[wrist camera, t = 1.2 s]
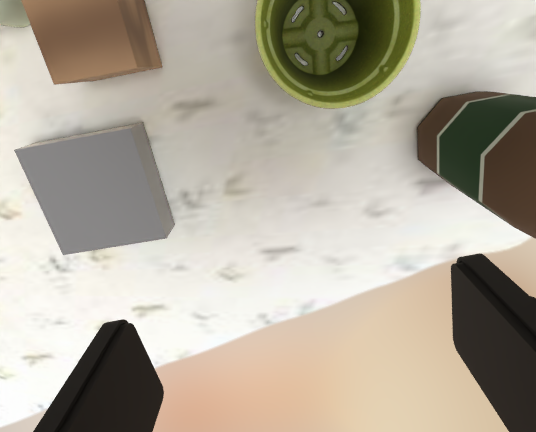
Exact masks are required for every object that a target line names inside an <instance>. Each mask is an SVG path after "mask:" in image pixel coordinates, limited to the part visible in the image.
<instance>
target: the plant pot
mask: <svg viewBox="0 0 536 432" xmlns="http://www.w3.org/2000/svg"><path fill="white" fill-rule="evenodd" d="M332 2H338V3H340V4H341V5H342V6H343V7H344V8H345V9H346V14H345V15H343V14H342V12H341V11H340V10H339V9H338V8H337V7H336V6H335V5H334V4H333V3H332ZM300 6H304V9H303V10H302V11H301V13H300V14H299V15H298V17H297V18H296V20H295V22H293V23H292V21H291V19H292V17H293V16H294V14H295V12H296V10H297V9H298V8H299V7H300ZM420 7H421V5H420V0H257V5H256V14H255V32H256V40H257V46H258V49H259V53H260V56H261V59H262V61H263V63H264V65H265V67H266V69H267V71H268V72H269V74H270V75H271V77H272V78H273V80H274V81H275V82H276V83H277V84H278V85H279V86H280V87H281V88H282V89H283V90H284V91H285V92H286V93H288V94H289V95H291V96H292V97H294V98H295V99H297V100H299V101H301V102H303V103H306V104H308V105H311V106H315V107H320V108H329V109H335V108H346V107H350V106H354V105H357V104H360V103H363V102H365V101H367V100H369V99H370V98H372V97H374V96H375V95H377V94H378V93H380V92H381V91H382V90H383V89H385V88H386V87H387V86H388V85H389V84H390V83H391V82H392V81H393V80H394V79H395V77H396V76H397V75H398V74H399V72H400V71H401V70H402V68H403V67H404V65H405V64H406V62H407V60H408V58H409V56H410V54H411V52H412V49H413V47H414V44H415V41H416V38H417V34H418V29H419V23H420ZM320 30H322V31H323V32H324V35H323V36H322V37H321V38H319V37H318V35H317V33H318V32H319V31H320ZM345 46H348V50H347V52H346V54H345V55H344V56H343V58H342V59H341V60H338V61H336V58H337V57H338V56H339V55H340V54H341V52H342V51H343V50H344V48H345ZM295 53H298V54H299V56H300V57H301V58H302V59H303V60H305V61H307V62H308V65H307V66H305V65H302V64H301V63H300V62H299V61H298V60H297V59H296V58H295Z"/></svg>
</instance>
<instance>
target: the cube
mask: <svg viewBox="0 0 536 432" xmlns="http://www.w3.org/2000/svg"><path fill="white" fill-rule="evenodd" d="M21 1H22V4H23V6H24V9H25V11H26V14H27V17H28V19H29V22H30V24H31V27H32V29H33V32H34V34H35V37H36V40H37V42H38V45H39V47H40V50H41V52H42V55H43V57H44V60H45V62H46V65H47V68H48V70H49V73H50V75H51V78H52V80H53V83H54V84H65V83H76V82H87V81H96V80H101V79H106V78H111V77H116V76H121V75H126V74H131V73H136V72H141V71H146V70H151V69H156V68H161V67H162V63H161V60H160V56H159V53H158V49H157V45H156V42H155V38H154V34H153V31H152V27H151V23H150V20H149V16H148V12H147V9H146V5H145V1H144V0H21Z"/></svg>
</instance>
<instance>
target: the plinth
mask: <svg viewBox="0 0 536 432" xmlns="http://www.w3.org/2000/svg"><path fill="white" fill-rule="evenodd" d="M14 151H15V153H16V155H17V157H18V159H19V161H20V163H21V166H22V168H23V170H24V172H25V174H26V176H27V179H28V181H29V183H30V185H31V187H32V189H33V191H34V194H35V196H36V198H37V200H38V202H39V204H40V206H41V209H42V211H43V213H44V215H45V217H46V219H47V221H48V224H49V226H50V228H51V230H52V232H53V234H54V236H55V239H56V241H57V243H58V245H59V247H60V249H61V252H62V254H63V255H66V254H72V253H79V252H85V251H91V250H97V249H103V248H110V247H116V246H122V245H128V244H134V243H141V242H147V241H153V240H159V239H165V238H167V237H168V235H169V233H170V232H171V230H172V228H173V227H174V225H175V224H174V221H173V217H172V214H171V211H170V208H169V204H168V201H167V198H166V195H165V192H164V188H163V185H162V182H161V179H160V176H159V172H158V169H157V166H156V163H155V160H154V156H153V153H152V150H151V147H150V144H149V140H148V137H147V134H146V131H145V128H144V124H143V123H137V124H132V125H127V126H122V127H116V128H111V129H106V130H100V131H95V132H90V133H85V134H79V135H74V136H69V137H63V138H58V139H53V140H48V141H42V142H37V143H34V144H31V145H28V146H25V147H22V148H19V149H16V150H14Z"/></svg>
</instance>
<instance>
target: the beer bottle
mask: <svg viewBox="0 0 536 432" xmlns="http://www.w3.org/2000/svg"><path fill="white" fill-rule="evenodd" d="M418 160H419V161H421V162H422V163H423V164H424V165H425V166H427V167H428V168H429V169H431V170H432V171H433V172H435V173H436V174H437V175H438V176H440V177H441V178H442V179H444V180H445V181H446V182H448V183H449V184H450V185H452V186H453V187H455V188H456V189H458V190H459V191H461V192H462V193H464V194H465V195H467V196H468V197H470V198H471V199H473V200H474V201H476V202H477V203H479V204H480V205H482V206H483V207H485V208H486V209H488V210H489V211H491V212H492V213H494V214H495V215H497V216H498V217H500V218H501V219H503V220H504V221H506V222H507V223H509V224H510V225H512V226H513V227H515V228H517V229H518V230H520V231H522V232H524V233H526V234H528V235H530V236H532V237H534V238H536V97H529V96H521V95H513V94H505V93H497V92H473V93H467V94H462V95H457V96H451V97H446V98H442V99H441V100H440V101H439V103H438V104H437V105H436V106H435V107H434V108H433V110H432V111H431V112H430V113H429V114H428V116H427V117H426V118H425V119H424V120H423V122H422V123H421V124H420V125H419V126H418Z"/></svg>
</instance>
